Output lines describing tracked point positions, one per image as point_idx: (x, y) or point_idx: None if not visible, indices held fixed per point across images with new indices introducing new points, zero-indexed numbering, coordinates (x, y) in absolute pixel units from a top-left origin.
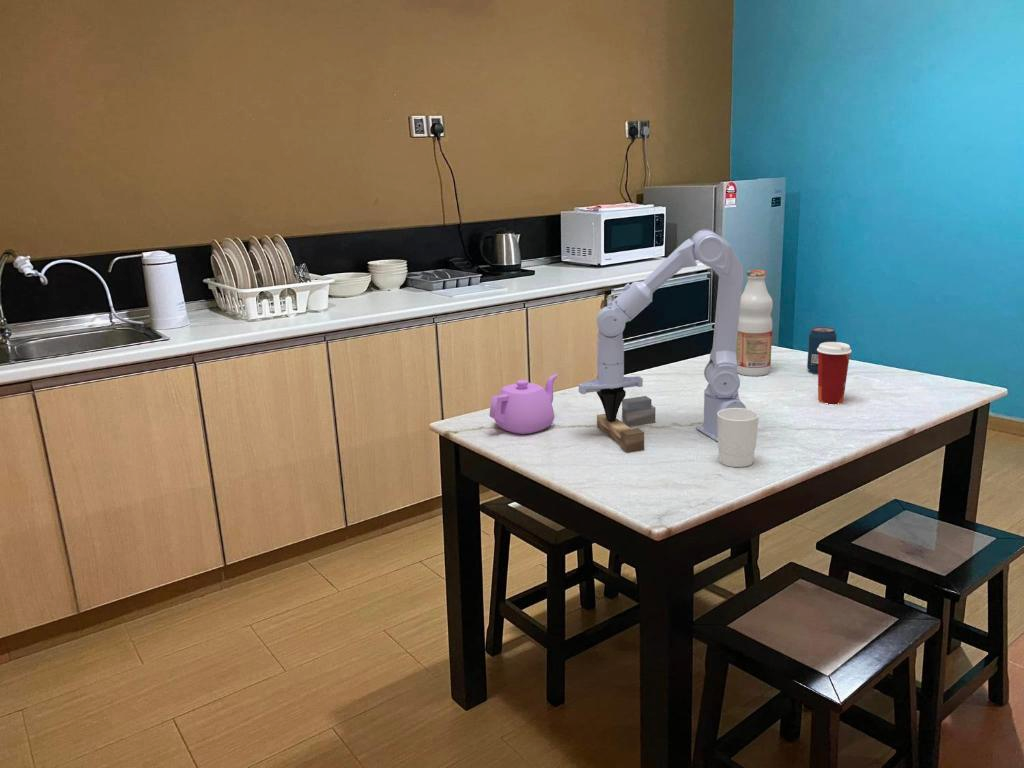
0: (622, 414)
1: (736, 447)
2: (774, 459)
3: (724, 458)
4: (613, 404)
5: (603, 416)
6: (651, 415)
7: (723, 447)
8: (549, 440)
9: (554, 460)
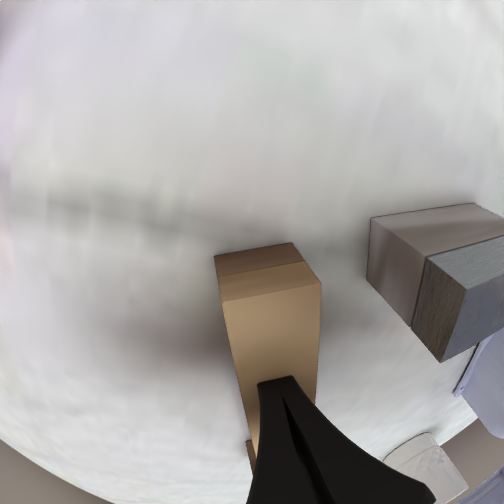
0: (398, 241)
1: None
2: (445, 431)
3: None
4: (310, 486)
5: (258, 338)
6: None
7: None
8: (2, 352)
9: (61, 452)
